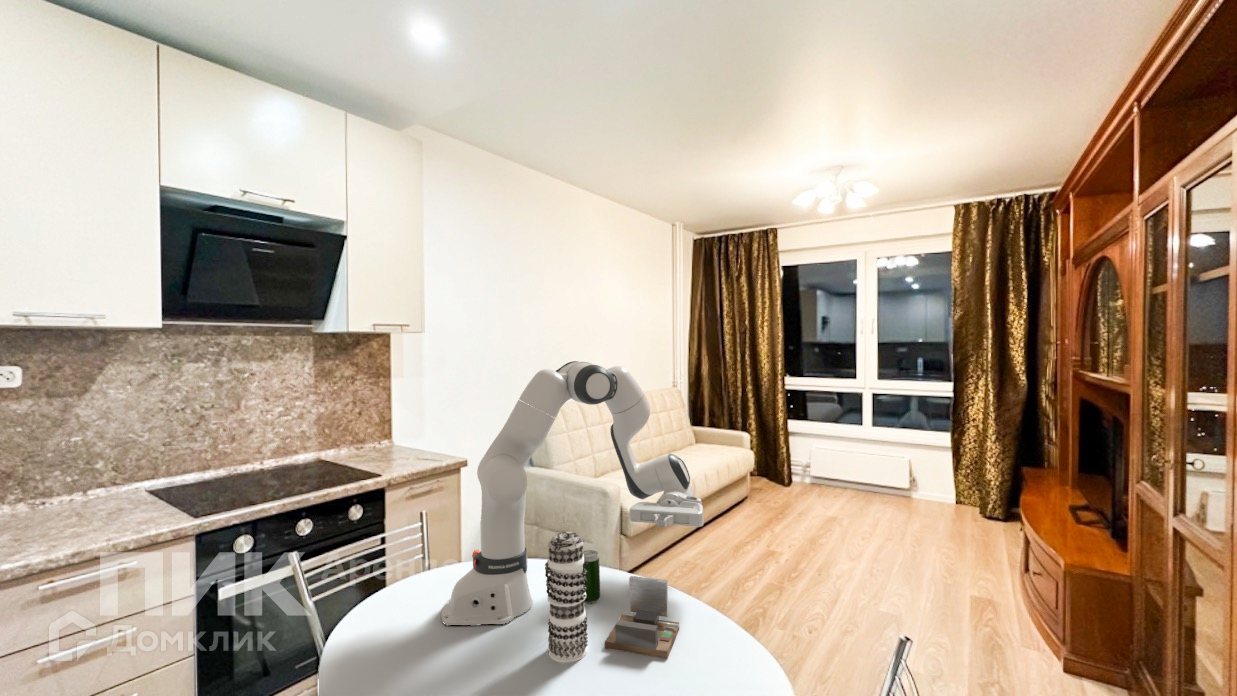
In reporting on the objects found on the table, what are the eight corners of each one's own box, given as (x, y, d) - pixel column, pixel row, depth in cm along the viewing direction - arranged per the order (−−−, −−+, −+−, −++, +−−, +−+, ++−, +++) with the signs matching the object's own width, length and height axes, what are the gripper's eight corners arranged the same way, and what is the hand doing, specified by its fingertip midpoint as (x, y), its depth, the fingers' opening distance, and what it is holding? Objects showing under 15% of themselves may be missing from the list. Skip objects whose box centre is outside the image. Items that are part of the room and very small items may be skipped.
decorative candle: (561, 636, 118) (558, 526, 118) (596, 644, 114) (593, 531, 114) (538, 657, 109) (535, 540, 110) (576, 668, 106) (573, 546, 106)
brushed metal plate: (631, 614, 123) (630, 576, 123) (681, 621, 119) (680, 581, 119) (625, 625, 118) (624, 585, 118) (676, 633, 114) (675, 591, 114)
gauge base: (622, 620, 124) (621, 597, 124) (679, 629, 119) (678, 605, 119) (605, 648, 112) (604, 622, 112) (667, 658, 108) (666, 632, 108)
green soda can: (586, 606, 131) (585, 559, 131) (576, 598, 136) (575, 553, 136) (604, 600, 134) (603, 554, 134) (593, 592, 138) (592, 548, 139)
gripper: (636, 494, 150) (621, 508, 137) (706, 499, 143) (698, 514, 130) (637, 516, 150) (622, 532, 136) (707, 521, 143) (699, 539, 130)
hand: (660, 523), depth 133 cm, fingers closed
